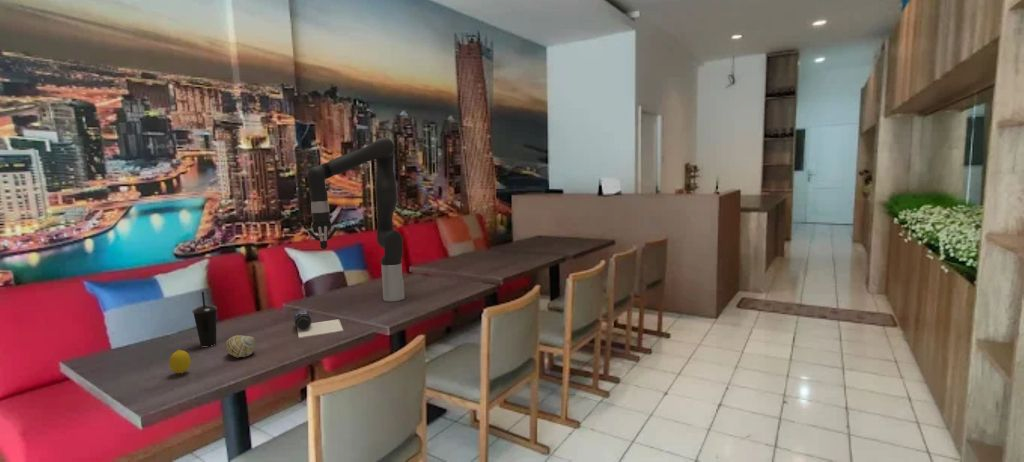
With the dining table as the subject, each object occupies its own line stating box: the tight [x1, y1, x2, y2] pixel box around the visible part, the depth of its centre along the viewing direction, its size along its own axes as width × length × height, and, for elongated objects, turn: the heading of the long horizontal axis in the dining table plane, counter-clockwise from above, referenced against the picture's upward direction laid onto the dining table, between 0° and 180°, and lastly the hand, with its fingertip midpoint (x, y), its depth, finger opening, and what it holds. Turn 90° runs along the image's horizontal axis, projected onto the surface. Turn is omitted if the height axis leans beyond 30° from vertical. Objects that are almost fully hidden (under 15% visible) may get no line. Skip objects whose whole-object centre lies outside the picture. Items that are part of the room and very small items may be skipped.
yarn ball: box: [225, 334, 256, 358], centre depth 174 cm, size 10×10×10 cm
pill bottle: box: [293, 308, 312, 330], centre depth 199 cm, size 6×6×11 cm
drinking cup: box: [191, 291, 218, 347], centre depth 183 cm, size 8×8×20 cm
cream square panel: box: [296, 318, 344, 339], centre depth 199 cm, size 16×15×1 cm
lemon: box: [169, 349, 192, 374], centre depth 159 cm, size 6×6×8 cm
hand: (324, 248), depth 229 cm, fingers closed
